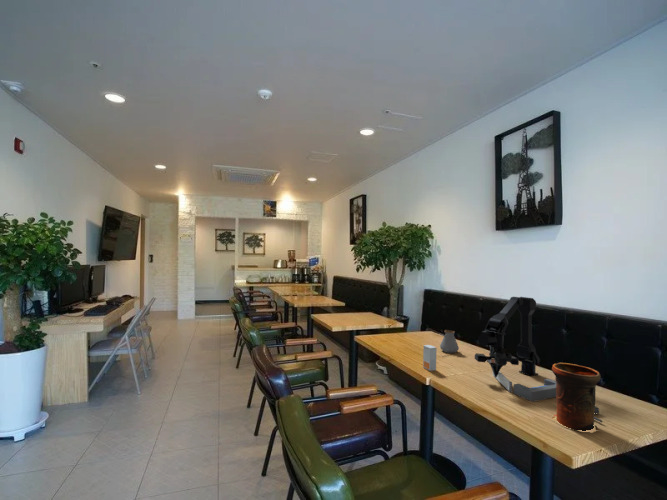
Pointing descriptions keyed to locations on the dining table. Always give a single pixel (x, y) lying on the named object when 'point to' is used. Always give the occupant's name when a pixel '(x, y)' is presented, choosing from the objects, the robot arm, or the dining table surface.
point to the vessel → (575, 395)
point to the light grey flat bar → (504, 381)
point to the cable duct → (537, 391)
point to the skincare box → (429, 357)
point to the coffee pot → (448, 341)
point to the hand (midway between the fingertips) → (495, 376)
